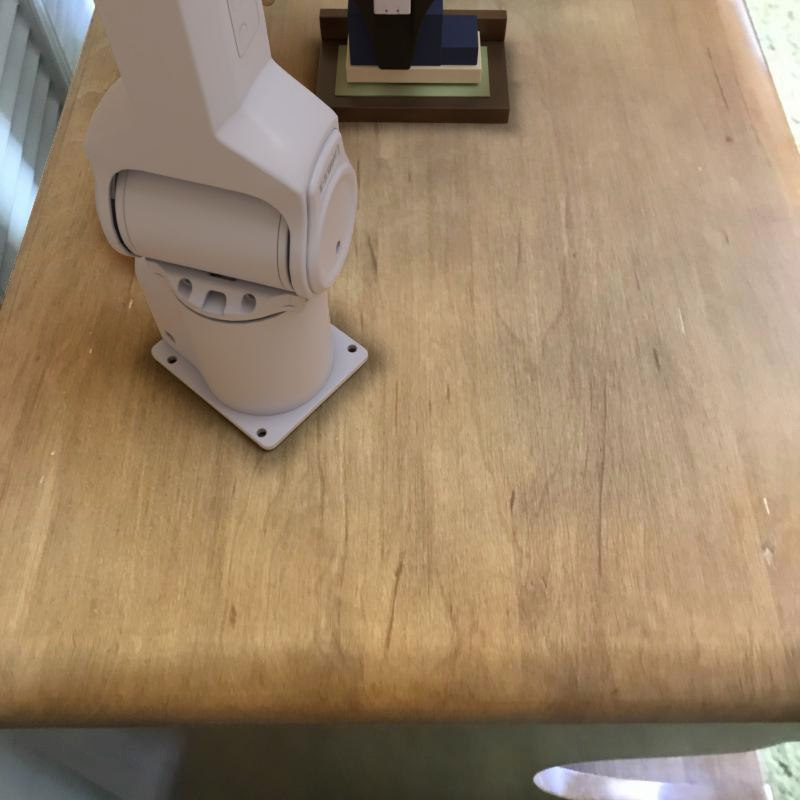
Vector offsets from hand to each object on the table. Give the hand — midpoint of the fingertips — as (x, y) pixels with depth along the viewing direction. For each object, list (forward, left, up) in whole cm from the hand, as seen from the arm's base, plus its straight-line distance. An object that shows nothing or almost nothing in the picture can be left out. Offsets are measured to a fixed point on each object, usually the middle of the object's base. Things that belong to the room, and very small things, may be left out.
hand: (395, 46), depth 56 cm
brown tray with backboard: (+1, +1, -3) cm, 3 cm away
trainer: (+1, +1, -1) cm, 2 cm away
